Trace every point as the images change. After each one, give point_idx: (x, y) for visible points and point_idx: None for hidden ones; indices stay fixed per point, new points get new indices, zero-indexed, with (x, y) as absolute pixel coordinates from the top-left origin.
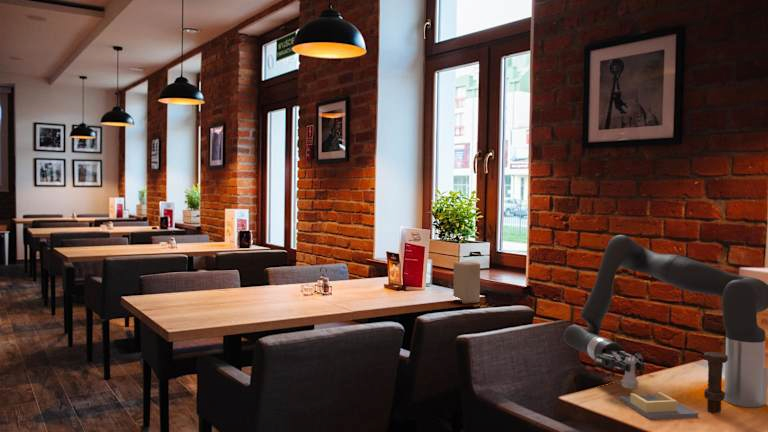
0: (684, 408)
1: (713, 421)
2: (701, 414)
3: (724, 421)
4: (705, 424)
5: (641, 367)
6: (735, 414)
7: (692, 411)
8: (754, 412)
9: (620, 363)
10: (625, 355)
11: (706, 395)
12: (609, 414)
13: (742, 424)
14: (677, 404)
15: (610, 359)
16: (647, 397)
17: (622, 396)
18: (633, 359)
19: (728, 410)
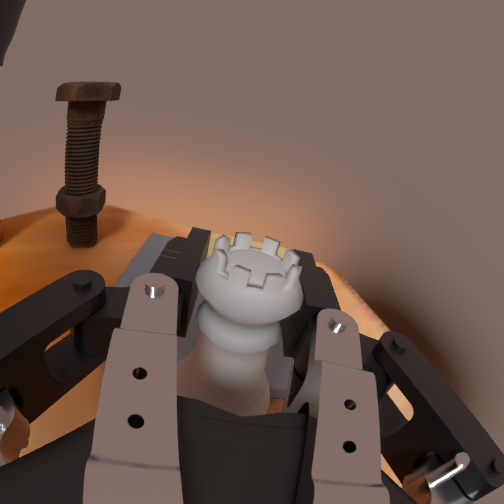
0: (151, 254)
1: (144, 225)
2: (124, 246)
3: (123, 220)
4: (175, 225)
5: (207, 250)
6: (61, 225)
7: (153, 240)
8: (22, 219)
9: (338, 306)
10: (176, 409)
11: (100, 204)
12: (364, 313)
13: (110, 208)
14: (138, 273)
15: (413, 346)
16: (177, 346)
17: (281, 386)
18: (251, 236)
19: (44, 236)
